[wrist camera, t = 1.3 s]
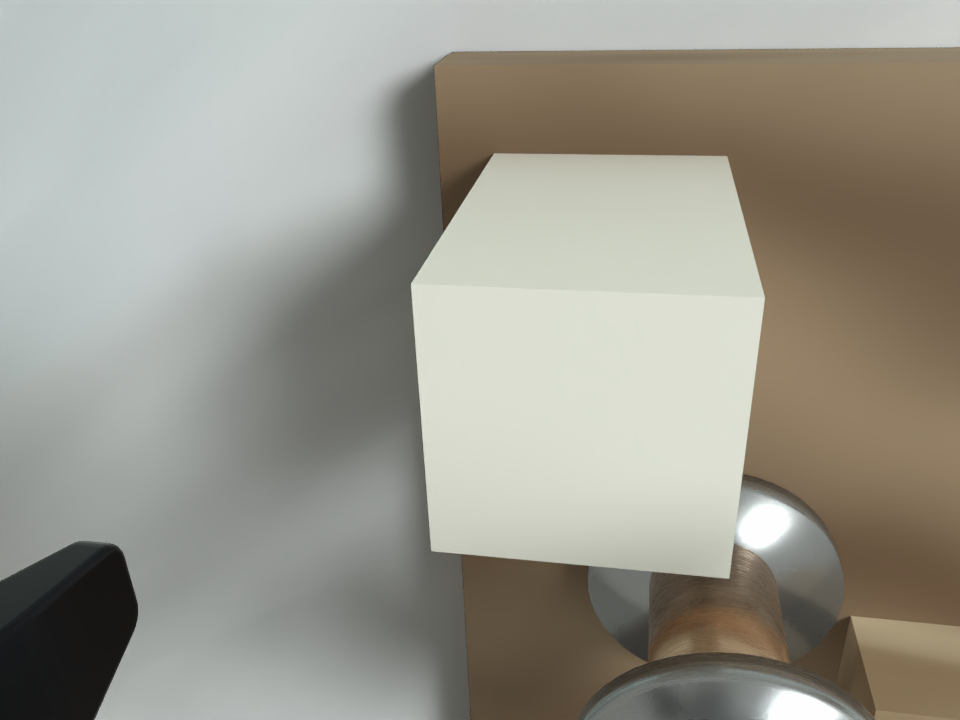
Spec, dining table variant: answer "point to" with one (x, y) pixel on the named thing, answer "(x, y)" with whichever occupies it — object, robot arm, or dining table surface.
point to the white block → (590, 363)
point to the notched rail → (902, 668)
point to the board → (786, 316)
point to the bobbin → (730, 625)
